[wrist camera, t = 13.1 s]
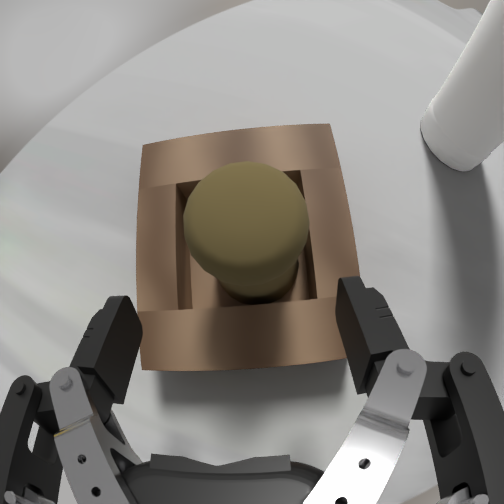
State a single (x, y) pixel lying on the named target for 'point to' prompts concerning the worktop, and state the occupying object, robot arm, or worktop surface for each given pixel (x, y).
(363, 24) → the worktop surface
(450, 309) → the worktop surface
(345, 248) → the socket block
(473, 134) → the bottle
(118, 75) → the worktop surface
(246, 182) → the cork
